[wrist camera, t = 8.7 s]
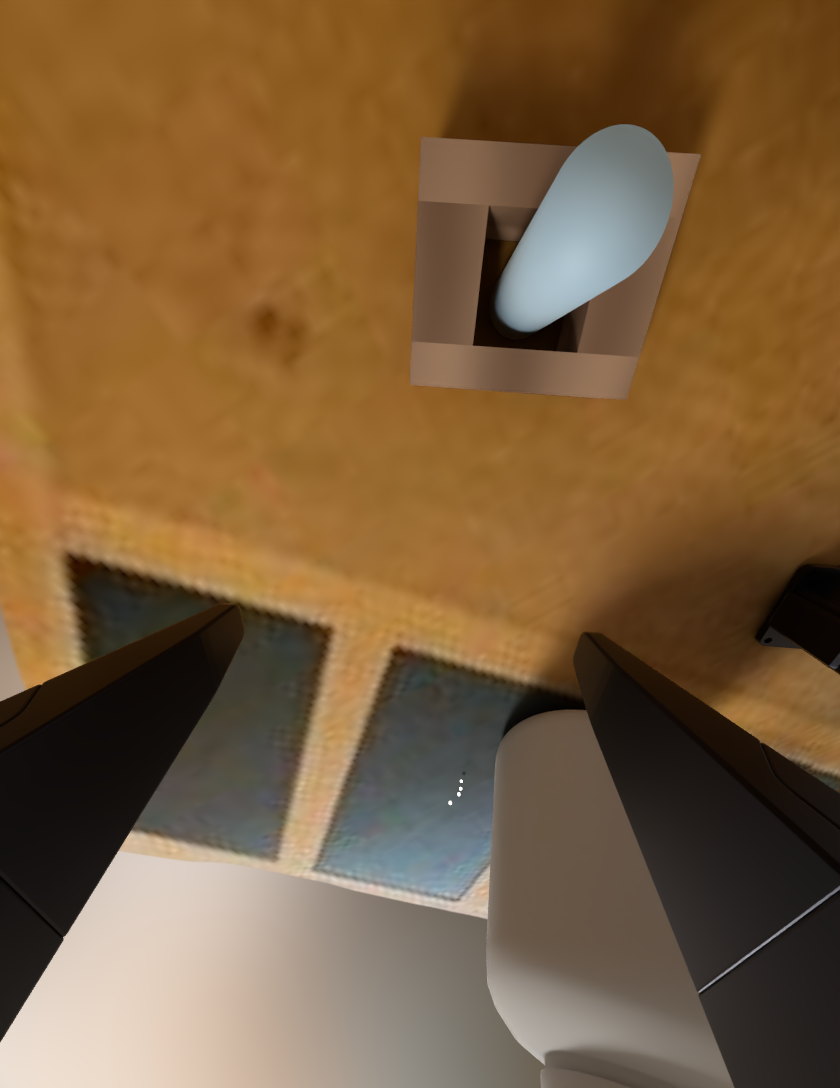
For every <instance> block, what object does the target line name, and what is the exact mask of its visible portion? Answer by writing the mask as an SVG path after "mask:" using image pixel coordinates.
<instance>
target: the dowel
mask: <svg viewBox="0 0 840 1088" xmlns="http://www.w3.org/2000/svg"><path fill="white" fill-rule="evenodd" d="M673 189H674V182H673V172H672V167H671V163H670V160H669V157H668V154H667V152H666V150H665V148H664V146H663V145H662V144H661V142H660V141H659V140H658V139H657V138H656V137H655V136H654V135H653V134H652V133H651V132H649V131H648V130H646V129H644V128H642V127H639V126H636V125H630V124H619V125H614V126H610V127H607V128H604V129H602V130H600V131H598V132H596V133H594V134H593V135H591V136H590V137H588V138H587V139H586V140H584V141H583V142H582V143H581V144H580V145H579V146H578V147H577V148H576V149H575V150H574V151H573V152H572V154H571V155H570V156H569V157H568V158H567V160H566V161H565V163H564V164H563V166H562V167H561V169H560V171H559V173H558V174H557V176H556V178H555V180H554V182H553V183H552V185H551V187H550V189H549V190H548V192H547V194H546V196H545V198H544V199H543V201H542V203H541V205H540V206H539V208H538V210H537V212H536V214H535V215H534V217H533V219H532V221H531V222H530V224H529V226H528V228H527V230H526V231H525V233H524V235H523V237H522V238H521V240H520V242H519V244H518V245H517V247H516V249H515V251H514V253H513V254H512V256H511V258H510V260H509V261H508V263H507V265H506V267H505V269H504V270H503V272H502V274H501V276H500V277H499V279H498V281H497V283H496V285H495V286H494V289H493V291H492V294H491V298H490V305H489V310H490V317H491V320H492V323H493V325H494V327H495V328H496V330H497V331H498V332H499V333H500V334H502V335H503V336H505V337H507V338H510V339H523V338H526V337H528V336H530V335H532V334H534V333H535V332H537V331H539V330H540V329H542V328H544V327H545V326H547V325H549V324H550V323H552V322H554V321H555V320H557V319H559V318H560V317H562V316H564V315H566V314H567V313H569V312H571V311H572V310H574V309H576V308H577V307H579V306H581V305H582V304H584V303H586V302H587V301H589V300H591V299H592V298H594V297H596V296H597V295H599V294H601V293H603V292H604V291H606V290H608V289H609V288H611V287H613V286H614V285H616V284H618V283H619V282H621V281H623V280H624V279H626V278H627V277H629V276H630V275H631V274H633V273H634V272H635V271H636V270H637V269H638V268H639V267H640V266H641V265H643V263H644V262H645V261H646V260H647V259H648V257H649V256H650V255H651V253H652V252H653V250H654V249H655V248H656V246H657V244H658V242H659V241H660V239H661V237H662V234H663V232H664V230H665V228H666V225H667V222H668V219H669V216H670V212H671V207H672V201H673Z"/></svg>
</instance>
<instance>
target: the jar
mask: <svg viewBox="0 0 840 1088" xmlns="http://www.w3.org/2000/svg"><path fill="white" fill-rule="evenodd" d="M460 783H463V780H460ZM459 790H460V791H461V790H462V787H460V788H459ZM457 795H458V796H460V795H461V794H460V792H458V793H457ZM449 805H452V802H451V801H449ZM486 960H487V983H488V987H489V990H490V993H491V996H492V999H493V1002H494V1005H495V1007H496V1009H497V1011H498V1012H499V1014H500V1016H501V1017H502V1019H503V1020H504V1022H505V1023H506V1025H507V1026H508V1028H509V1029H510V1031H511V1033H512V1034H513V1036H514V1037H515V1039H516V1040H517V1041H518V1042H519V1043H520V1044H521V1045H522V1046H523V1047H524V1048H525V1049H526V1050H527V1051H529V1052H530V1053H531V1054H532V1055H534V1056H535V1057H536V1058H537V1059H538V1060H539V1061H541V1062H542V1063H543V1064H544V1065H545V1069H543V1070H541V1088H734V1086H733V1083H732V1081H731V1078H730V1076H729V1073H728V1071H727V1068H726V1066H725V1063H724V1061H723V1058H722V1056H721V1053H720V1051H719V1048H718V1045H717V1043H716V1040H715V1038H714V1035H713V1033H712V1030H711V1028H710V1025H709V1023H708V1020H707V1018H706V1015H705V1013H704V1010H703V1008H702V1005H701V1003H700V1000H699V997H698V996H699V993H698V992H697V991H696V989H695V986H694V984H693V981H692V979H691V976H690V974H689V971H688V969H687V966H686V964H685V961H684V959H683V956H682V954H681V951H680V949H679V946H678V943H677V941H676V938H675V936H674V933H673V931H672V928H671V926H670V923H669V921H668V918H667V916H666V913H665V911H664V908H663V906H662V903H661V901H660V898H659V895H658V893H657V890H656V888H655V885H654V883H653V880H652V878H651V875H650V873H649V870H648V868H647V865H646V863H645V860H644V858H643V855H642V853H641V850H640V847H639V845H638V842H637V840H636V837H635V835H634V832H633V830H632V827H631V825H630V822H629V820H628V817H627V815H626V812H625V810H624V807H623V804H622V802H621V799H620V797H619V794H618V792H617V789H616V787H615V784H614V782H613V779H612V777H611V774H610V772H609V769H608V767H607V764H606V762H605V759H604V756H603V754H602V751H601V749H600V746H599V744H598V741H597V739H596V736H595V734H594V731H593V728H592V726H591V723H590V720H589V717H588V714H587V710H557V711H549V712H545V713H541V714H537V715H533V716H531V717H529V718H527V719H525V720H523V721H521V722H519V723H518V724H517V725H515V726H514V727H513V728H512V729H511V730H510V731H509V732H508V733H507V734H506V735H505V736H504V738H503V739H502V740H501V742H500V744H499V747H498V750H497V755H496V761H495V781H494V801H493V821H492V842H491V862H490V883H489V903H488V924H487V945H486Z"/></svg>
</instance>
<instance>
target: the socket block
mask: <svg viewBox="0 0 840 1088" xmlns="http://www.w3.org/2000/svg"><path fill="white" fill-rule="evenodd" d="M576 148H577V146H561V145H545V144H529V143H513V142H496V141H480V140H464V139H448V138H432V137H421V149H420V171H419V193H418V215H417V237H416V259H415V281H414V303H413V325H412V347H411V369H410V384H411V385H416V386H430V387H444V388H458V389H472V390H486V391H501V392H515V393H529V394H543V395H557V396H571V397H585V398H601V399H625V400H626V399H627V396H628V392H629V389H630V386H631V383H632V379H633V376H634V373H635V370H636V366H637V363H638V360H639V356H640V353H641V350H642V347H643V343H644V340H645V337H646V333H647V330H648V327H649V324H650V320H651V317H652V314H653V311H654V307H655V304H656V301H657V297H658V294H659V291H660V288H661V284H662V281H663V278H664V275H665V271H666V268H667V265H668V261H669V258H670V255H671V252H672V248H673V245H674V242H675V239H676V235H677V232H678V229H679V225H680V222H681V219H682V216H683V212H684V209H685V206H686V202H687V199H688V196H689V193H690V189H691V186H692V183H693V180H694V176H695V173H696V170H697V166H698V163H699V160H700V157H701V154H690V153H674V152H667V154H668V157H669V160H670V163H671V167H672V172H673V182H674V189H673V201H672V207H671V212H670V216H669V219H668V222H667V225H666V228H665V230H664V232H663V234H662V237H661V239H660V241H659V242H658V244H657V246H656V248H655V249H654V250H653V252H652V253H651V255H650V256H649V257H648V259H647V260H646V261H645V262H644V263H643V265H641V266H640V267H639V268H638V269H637V270H636V271H635V272H634V273H633V274H631V275H630V276H629V277H627V278H626V279H624V280H623V281H621V282H619V283H618V284H616V285H614V286H613V287H611V288H609V289H608V290H606V291H604V292H603V293H601V294H599V295H597V296H596V297H594V298H592V299H591V300H589V301H587V302H586V303H584V304H582V305H581V306H579V307H577V308H576V309H574V310H572V311H571V312H569V313H567V314H566V315H564V318H563V322H562V327H561V332H560V337H559V341H558V346H557V351H543V350H528V349H514V348H499V347H485V346H473V340H474V331H475V322H476V314H477V305H478V296H479V287H480V279H481V270H482V261H483V252H484V244H485V239H491V240H506V241H520V240H521V238H522V237H523V235H524V233H525V231H526V230H527V228H528V226H529V224H530V222H531V221H532V219H533V217H534V215H535V214H536V212H537V210H538V208H539V206H540V205H541V203H542V201H543V199H544V198H545V196H546V194H547V192H548V190H549V189H550V187H551V185H552V183H553V182H554V180H555V178H556V176H557V174H558V173H559V171H560V169H561V167H562V166H563V164H564V163H565V161H566V160H567V158H568V157H569V156H570V155H571V154H572V152H573V151H574V150H575V149H576Z"/></svg>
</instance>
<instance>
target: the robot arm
mask: <svg viewBox="0 0 840 1088" xmlns="http://www.w3.org/2000/svg"><path fill="white" fill-rule="evenodd" d="M243 636H244V625H243V620H242V615H241V610H240V607H239V606H238V605H236V604H227V603H221V604H218V605H216V606H214V607H212V608H209V609H207V610H205V611H203V612H200V613H198V614H196V615H194V616H191V617H189V618H187V619H185V620H182V621H180V622H178V623H176V624H173V625H171V626H169V627H167V628H165V629H162V630H160V631H158V632H156V633H153V634H151V635H149V636H147V637H144V638H142V639H140V640H138V641H135V642H133V643H131V644H129V645H126V646H124V647H122V648H120V649H117V650H115V651H113V652H111V653H108V654H106V655H104V656H102V657H100V658H97V659H95V660H93V661H91V662H88V663H86V664H84V665H82V666H79V667H77V668H75V669H73V670H70V671H68V672H66V673H64V674H61V675H59V676H57V677H55V678H52V679H50V680H48V681H46V682H44V683H43V684H42V685H36V686H34V687H32V688H30V689H28V690H25V691H23V692H21V693H19V694H17V695H14V696H12V697H10V698H7V699H5V700H3V701H1V702H0V1042H1V1040H2V1039H3V1037H4V1036H5V1034H6V1032H7V1031H8V1029H9V1027H10V1026H11V1024H12V1023H13V1021H14V1019H15V1018H16V1016H17V1015H18V1013H19V1011H20V1010H21V1008H22V1006H23V1005H24V1003H25V1002H26V1000H27V998H28V997H29V995H30V993H31V992H32V990H33V989H34V987H35V985H36V984H37V982H38V981H39V979H40V977H41V976H42V974H43V972H44V971H45V969H46V968H47V966H48V964H49V963H50V961H51V960H52V958H53V956H54V955H55V953H56V951H57V950H58V948H59V947H60V945H61V943H62V942H63V937H64V936H66V934H67V933H68V931H69V930H70V928H71V926H72V925H73V923H74V922H75V920H76V919H77V917H78V915H79V914H80V912H81V910H82V909H83V907H84V905H85V904H86V902H87V901H88V899H89V897H90V896H91V894H92V893H93V891H94V889H95V888H96V886H97V885H98V883H99V881H100V880H101V878H102V876H103V875H104V873H105V871H106V870H107V868H108V867H109V865H110V864H111V862H112V860H113V859H114V857H115V855H116V854H117V852H118V851H119V849H120V847H121V846H122V844H123V843H124V841H125V839H126V838H127V836H128V834H129V833H130V831H131V830H132V828H133V826H134V825H135V823H136V821H137V820H138V818H139V817H140V815H141V813H142V812H143V810H144V809H145V807H146V805H147V804H148V802H149V800H150V799H151V797H152V796H153V794H154V792H155V791H156V789H157V788H158V786H159V784H160V783H161V781H162V779H163V778H164V776H165V775H166V773H167V771H168V770H169V768H170V767H171V765H172V763H173V762H174V760H175V758H176V757H177V755H178V754H179V752H180V750H181V749H182V747H183V745H184V744H185V742H186V741H187V739H188V737H189V736H190V734H191V733H192V731H193V729H194V728H195V726H196V724H197V723H198V721H199V720H200V718H201V716H202V715H203V713H204V712H205V710H206V708H207V707H208V705H209V703H210V702H211V700H212V698H213V697H214V695H215V693H216V692H217V690H218V688H219V686H220V684H221V682H222V680H223V678H224V676H225V674H226V672H227V670H228V668H229V666H230V664H231V662H232V660H233V658H234V656H235V653H236V651H237V649H238V647H239V645H240V643H241V641H242V639H243ZM755 639H756V641H757V642H759V643H760V644H761V645H763V646H773V647H786V648H798V649H803V650H804V651H806V652H807V653H808V654H810V655H811V656H813V657H814V658H816V659H817V660H818V661H820V662H821V663H823V664H824V665H825V666H827V667H828V668H831V669H832V670H834V671H835V672H837V673H838V674H839V675H840V566H829V565H816V564H807V565H804V566H803V567H801V568H800V569H799V570H798V572H797V573H796V575H795V576H794V578H793V580H792V581H791V583H790V584H789V586H788V587H787V589H786V590H785V592H784V594H783V595H782V597H781V598H780V600H779V601H778V603H777V604H776V606H775V608H774V609H773V611H772V612H771V614H770V615H769V617H768V618H767V620H766V622H765V623H764V625H763V626H762V628H761V629H760V631H759V632H758V634H757V636H756V638H755ZM573 664H574V668H575V671H576V675H577V678H578V682H579V685H580V689H581V693H582V696H583V700H584V703H585V707H586V710H587V714H588V717H589V720H590V723H591V726H592V728H593V731H594V734H595V736H596V739H597V741H598V744H599V746H600V749H601V751H602V754H603V756H604V759H605V762H606V764H607V767H608V769H609V772H610V774H611V777H612V779H613V782H614V784H615V787H616V789H617V792H618V794H619V797H620V799H621V802H622V804H623V807H624V810H625V812H626V815H627V817H628V820H629V822H630V825H631V827H632V830H633V832H634V835H635V837H636V840H637V842H638V845H639V847H640V850H641V853H642V855H643V858H644V860H645V863H646V865H647V868H648V870H649V873H650V875H651V878H652V880H653V883H654V885H655V888H656V890H657V893H658V895H659V898H660V901H661V903H662V906H663V908H664V911H665V913H666V916H667V918H668V921H669V923H670V926H671V928H672V931H673V933H674V936H675V938H676V941H677V943H678V946H679V949H680V951H681V954H682V956H683V959H684V961H685V964H686V966H687V969H688V971H689V974H690V976H691V979H692V981H693V984H694V986H695V989H696V991H697V992H698V993H699V996H698V997H699V1000H700V1003H701V1005H702V1008H703V1010H704V1013H705V1015H706V1018H707V1020H708V1023H709V1025H710V1028H711V1030H712V1033H713V1035H714V1038H715V1040H716V1043H717V1045H718V1048H719V1051H720V1053H721V1056H722V1058H723V1061H724V1063H725V1066H726V1068H727V1071H728V1073H729V1076H730V1078H731V1081H732V1083H733V1086H734V1088H840V793H839V792H837V791H835V790H834V789H832V788H831V787H829V786H828V785H826V784H824V783H823V782H821V781H820V780H818V779H817V778H815V777H814V776H812V775H811V774H809V773H808V772H806V771H805V770H803V769H802V768H800V767H799V766H797V765H796V764H794V763H793V762H791V761H790V760H788V759H787V758H785V757H784V756H782V755H781V754H779V753H778V752H776V751H775V750H773V749H772V748H770V747H769V746H767V745H766V744H764V743H760V741H759V740H758V739H757V738H755V737H754V736H752V735H751V734H749V733H748V732H746V731H745V730H744V729H742V728H741V727H739V726H738V725H736V724H735V723H733V722H732V721H730V720H729V719H727V718H726V717H724V716H723V715H721V714H720V713H718V712H717V711H715V710H714V709H712V708H711V707H709V706H708V705H706V704H705V703H703V702H702V701H700V700H699V699H698V698H696V697H695V696H693V695H692V694H690V693H689V692H687V691H686V690H684V689H683V688H681V687H680V686H678V685H677V684H675V683H674V682H672V681H671V680H669V679H668V678H666V677H665V676H663V675H662V674H660V673H659V672H657V671H656V670H654V669H653V668H652V667H650V666H649V665H647V664H646V663H644V662H643V661H641V660H640V659H638V658H637V657H635V656H634V655H632V654H631V653H629V652H628V651H626V650H625V649H623V648H622V647H620V646H619V645H617V644H616V643H614V642H613V641H611V640H610V639H609V638H607V637H606V636H604V635H603V634H601V633H598V632H583V633H582V634H581V635H580V638H579V641H578V644H577V647H576V649H575V652H574V656H573Z"/></svg>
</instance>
